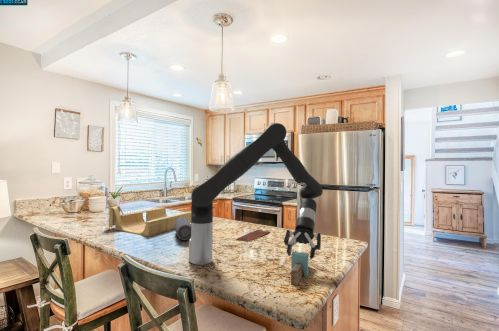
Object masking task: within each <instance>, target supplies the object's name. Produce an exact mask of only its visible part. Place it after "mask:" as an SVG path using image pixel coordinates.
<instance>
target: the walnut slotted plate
mask: <svg viewBox="0 0 499 331" xmlns="http://www.w3.org/2000/svg"><path fill="white" fill-rule="evenodd" d="M291 269H292V270H291ZM291 269H290V270H291V271H290V284H291V286H298V285H299V282H300V281H301V279H302V278H303V277H304V270H303V269H302V264H301V263H296V264H295V265H294V267H293V268H292V267H291Z"/></svg>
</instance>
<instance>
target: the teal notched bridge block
mask: <svg viewBox="0 0 499 331" xmlns="http://www.w3.org/2000/svg"><path fill="white" fill-rule="evenodd" d="M296 263H301V264H302V269H303V270H304V274H303V277H306V278H307V277H308V275H309V253H307V252H306V253H305V252H300V251H299V252H298V251H291V269H290V270H292V268H293V267H294V265H295V264H296Z"/></svg>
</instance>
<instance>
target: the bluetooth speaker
mask: <svg viewBox="0 0 499 331" xmlns="http://www.w3.org/2000/svg"><path fill="white" fill-rule="evenodd" d="M174 231H175V233H176V236H177V237H178V238H179V239H180V240H181V241H187V240H188V241H189V240H190V239H191V224H190V222H189V221H188V219H186V218H184V217H180V218H178V219H177V220H176V221H175V229H174Z"/></svg>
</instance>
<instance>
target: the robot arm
mask: <svg viewBox="0 0 499 331" xmlns="http://www.w3.org/2000/svg"><path fill="white" fill-rule="evenodd" d="M286 137H287V128H286V127H285V125H284V124H282V123H279V122H274V123H271V124H269V125H268V126H266V128H264V130H263V132H262V133H261V134H260V135H259V136H258V137H257V138H256V139H255V140H254V141H252V142H250V143H249V144H247V145H246V146H244V147H242V148H241V149H240V150H238V151H236V153H235V154H234V155H232V156H231V157H230V158H228V160H227V161H225V162H224V164H223V165H221V167H220V168H219V169H218V170H217V172H216V173H214V174H213V175H212V176H211V177H210V178H208V179H207V180H206V181H204V182H203V183H201V184H197V185H196V186H194V188H193V189H192V192H191V194H190V196H191V197H190V198H191V209H190V210H191V238H190V239H188V262H189V263H191V264H192V265H198V266H205V265H209V264H211V263H212V262H213V241H214V240H213V233H214V232H213V230H214V228H213V225H214V224H213V223H214V222H213V221H214V220H213V218H214V215H213V213H214V212H213V204H214V203H213V202H214V200H215V199H216V198H217V197H218V196H219V195H220V194H221V193H222V192H223V191H224V190H225V189H226V188H227V187H228V186H230V185H232V184H233V183H234V182H235V181H237V180H238V179H239V178H241V177H242V176H244V175H245V174H246V173H247V172H248V171H249V170H250V169H251V168H252V167H253V166H254V165H256V164H257V163H258V161H260V160H261V158H262V157H264V155H265V154H267V153H268V152H269V151H270V150H273V152H275V154H276V155H277V156H278V158H279V159H280V160H281V162H282V163H283V165H284V166H285V168H286V169H287V171H288V172H289V174H290V175H291V177H292V178H293V180H294V182H295V183H297V184H305V185H303V186H302V187H301V188H300V189H299V192H298V193H299V201H300V203H299V211H298V213H297V217H296V222H295V228H294V231H292V230H290V229H286V232H285V236H284V239H283V243H284V246H287V247H286V254H287V255H288V257H290V256H292V249H293V246H294V245H295V246H296V245H297V244H304V245H307V244H308V246H309V247H310V252H309V253H310V254H309V260H313V259H314V258H315V254H316V251H317V250H318V251H319V250H321V249H322V247H321V245H322V235H321V233H314V232H315V224H316V212H317V202H316V200H315V199H316V198H319V197H321V196H322V195H323V193H324V192H323V187H322V185H321V183H319V182H318V180H316V179H315V178H314V177H313V176H312V175H311V174H310V173H309V172H308V170H307V168H306V167H305V166H304V164H303V163H302V162H301V160H300V159H299V158H298V157H297V156H296V154H294V153H293V151H291V149H290V148H289V147H288V145H287V143H286V142H285V139H286ZM290 238H291V239H290ZM313 239H315V240H316V244H315V243H314V242H313Z"/></svg>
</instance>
